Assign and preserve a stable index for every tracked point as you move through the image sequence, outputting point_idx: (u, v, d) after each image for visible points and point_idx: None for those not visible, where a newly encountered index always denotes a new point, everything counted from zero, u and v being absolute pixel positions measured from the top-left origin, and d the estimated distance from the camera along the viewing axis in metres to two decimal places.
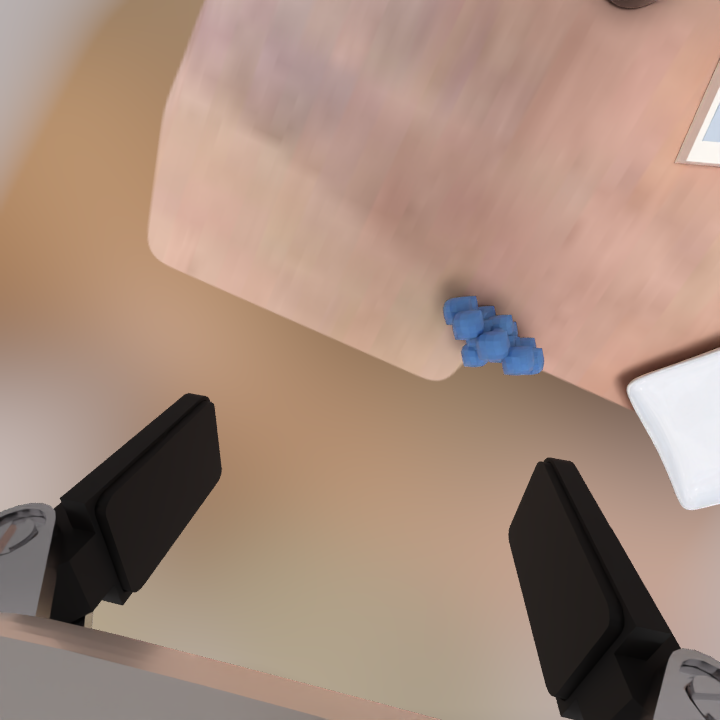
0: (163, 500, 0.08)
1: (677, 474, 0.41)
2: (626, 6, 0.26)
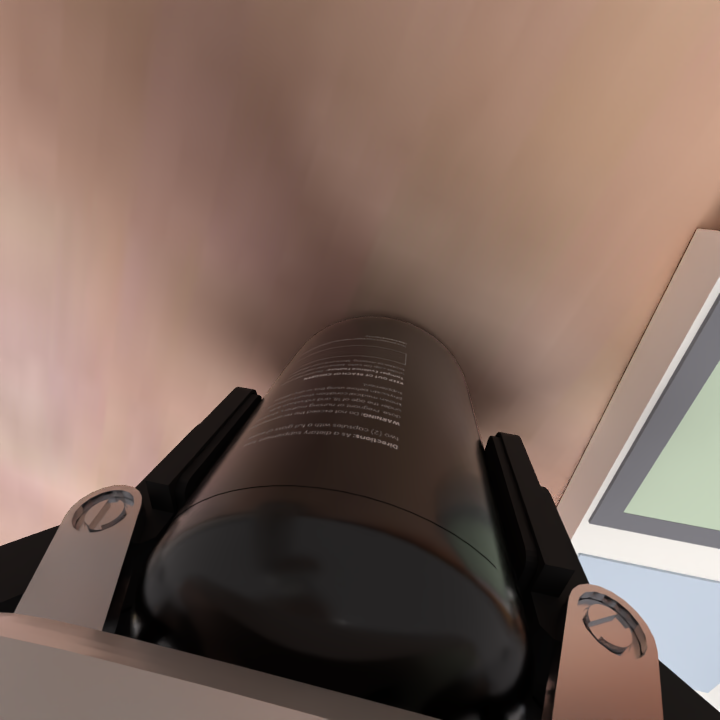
0: None
1: None
2: None
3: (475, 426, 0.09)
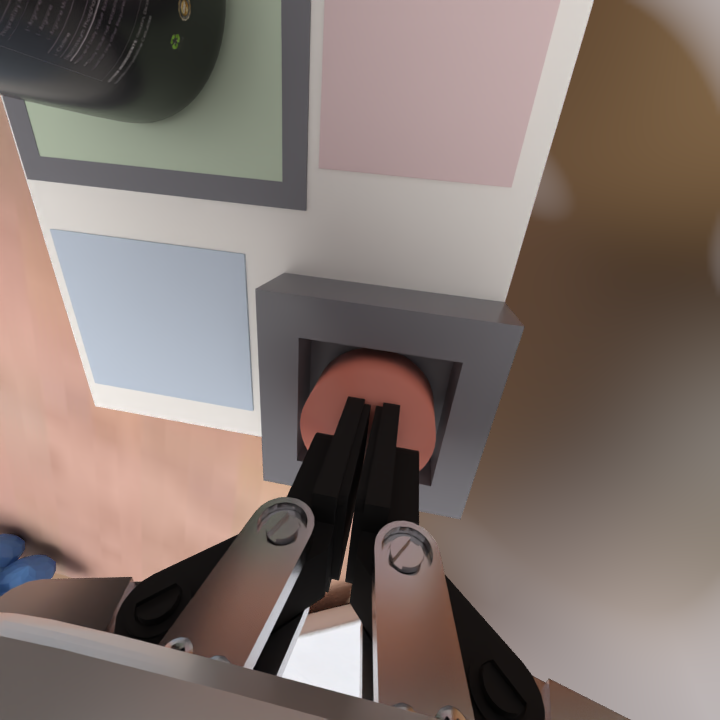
0: (353, 496, 0.09)
1: None
2: None
3: None
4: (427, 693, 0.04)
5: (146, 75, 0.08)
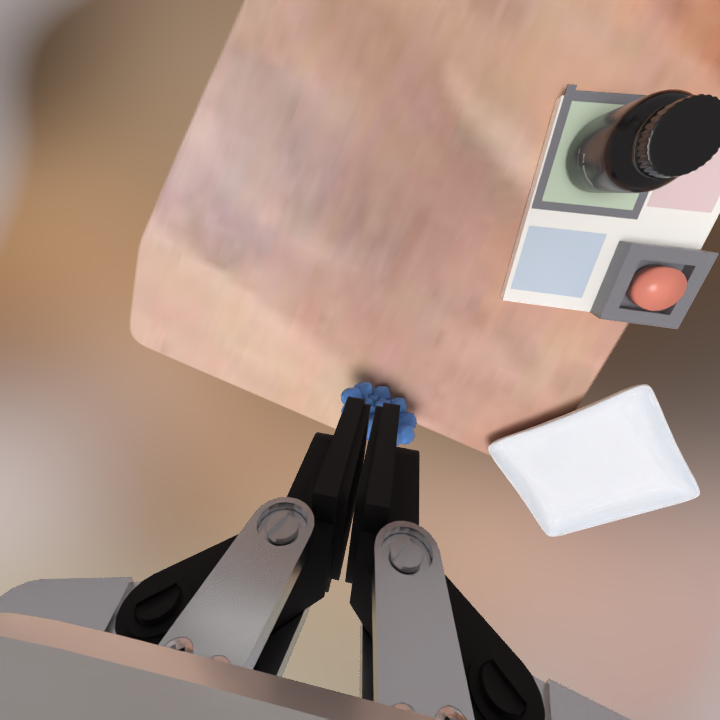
0: (353, 496, 0.09)
1: (540, 509, 0.54)
2: None
3: None
4: (427, 693, 0.04)
5: None
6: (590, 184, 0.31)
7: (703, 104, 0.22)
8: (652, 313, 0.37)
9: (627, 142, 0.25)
